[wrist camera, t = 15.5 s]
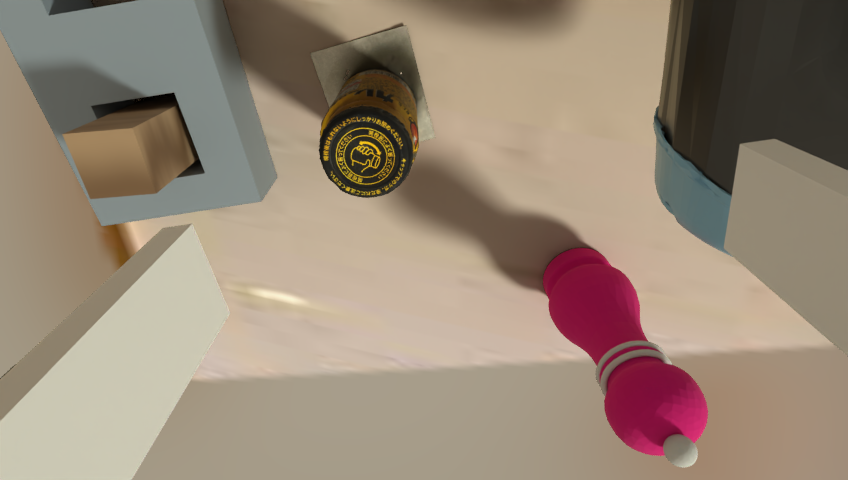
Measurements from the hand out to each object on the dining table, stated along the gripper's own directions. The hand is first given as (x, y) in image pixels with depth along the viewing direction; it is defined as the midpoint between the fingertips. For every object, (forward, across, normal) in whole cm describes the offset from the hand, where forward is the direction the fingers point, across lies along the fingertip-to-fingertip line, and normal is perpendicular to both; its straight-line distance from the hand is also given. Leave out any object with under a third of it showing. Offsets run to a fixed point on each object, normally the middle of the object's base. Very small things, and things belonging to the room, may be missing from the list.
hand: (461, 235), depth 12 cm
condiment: (+27, -5, -1) cm, 28 cm away
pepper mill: (+28, +10, -20) cm, 36 cm away
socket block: (+26, -20, +5) cm, 33 cm away
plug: (+26, -20, -1) cm, 33 cm away
